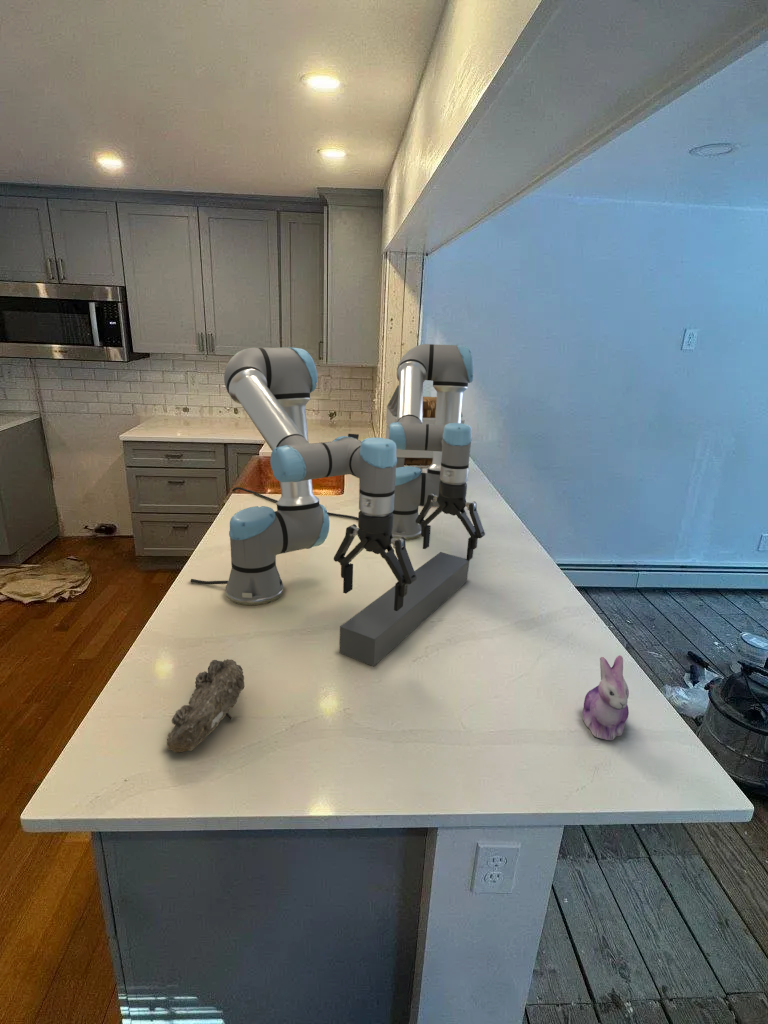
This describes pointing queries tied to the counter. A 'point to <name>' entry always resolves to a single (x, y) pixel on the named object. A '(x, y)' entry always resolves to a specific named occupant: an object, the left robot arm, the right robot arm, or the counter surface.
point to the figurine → (607, 702)
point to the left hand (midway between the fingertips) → (372, 599)
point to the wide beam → (402, 610)
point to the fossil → (206, 705)
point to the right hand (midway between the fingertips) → (447, 553)
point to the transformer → (427, 418)
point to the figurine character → (353, 435)
